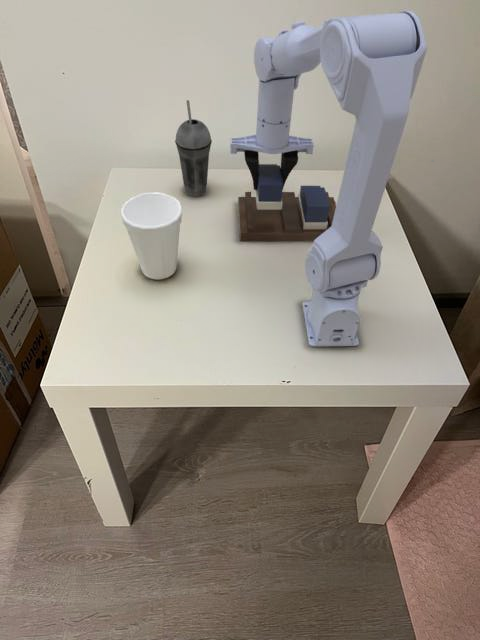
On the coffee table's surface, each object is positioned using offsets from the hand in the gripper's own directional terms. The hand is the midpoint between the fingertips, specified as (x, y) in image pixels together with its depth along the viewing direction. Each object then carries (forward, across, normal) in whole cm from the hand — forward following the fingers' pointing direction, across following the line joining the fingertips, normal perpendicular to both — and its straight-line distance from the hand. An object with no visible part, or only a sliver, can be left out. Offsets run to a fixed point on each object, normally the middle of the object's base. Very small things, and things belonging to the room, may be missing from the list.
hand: (268, 186), depth 92 cm
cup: (+9, +20, +13) cm, 26 cm away
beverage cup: (+9, +14, -12) cm, 20 cm away
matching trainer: (+7, -9, -1) cm, 11 cm away
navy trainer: (+2, 0, 0) cm, 2 cm away
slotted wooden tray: (+9, -5, -1) cm, 10 cm away
